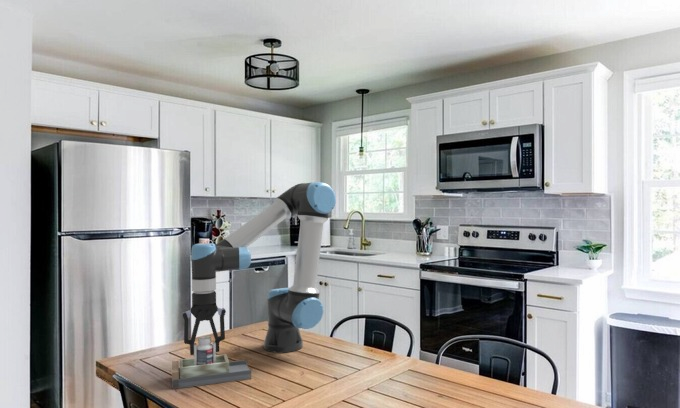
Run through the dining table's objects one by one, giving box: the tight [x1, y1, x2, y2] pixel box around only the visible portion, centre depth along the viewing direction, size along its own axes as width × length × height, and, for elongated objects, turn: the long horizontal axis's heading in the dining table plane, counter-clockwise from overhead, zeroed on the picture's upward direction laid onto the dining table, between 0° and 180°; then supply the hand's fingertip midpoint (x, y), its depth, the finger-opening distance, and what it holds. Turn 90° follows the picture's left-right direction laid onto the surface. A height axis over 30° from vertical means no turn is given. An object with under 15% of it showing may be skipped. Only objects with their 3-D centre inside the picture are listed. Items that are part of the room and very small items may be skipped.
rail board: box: [171, 359, 252, 390], centre depth 152 cm, size 24×11×5 cm, turn 109°
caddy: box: [179, 353, 230, 379], centre depth 152 cm, size 15×9×4 cm, turn 109°
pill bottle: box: [196, 336, 213, 365], centre depth 152 cm, size 5×5×9 cm
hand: (205, 363), depth 152 cm, fingers closed on pill bottle, 5 cm apart
